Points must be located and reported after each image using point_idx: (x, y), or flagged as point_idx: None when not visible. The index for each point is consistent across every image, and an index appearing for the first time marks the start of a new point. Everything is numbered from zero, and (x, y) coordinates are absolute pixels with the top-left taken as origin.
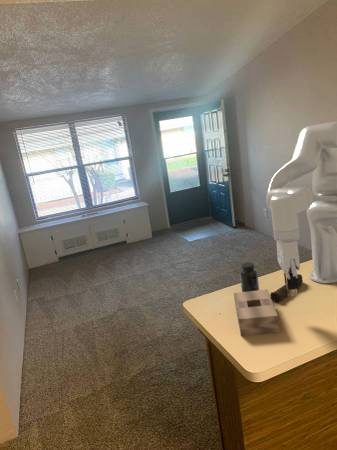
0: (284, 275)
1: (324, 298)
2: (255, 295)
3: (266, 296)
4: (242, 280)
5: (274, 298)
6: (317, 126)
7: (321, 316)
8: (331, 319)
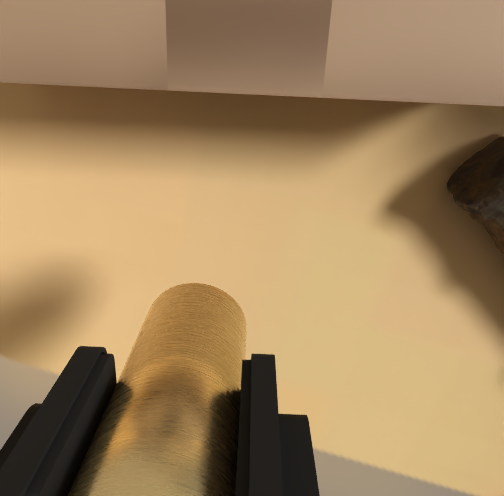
0: (251, 475)
1: (384, 434)
2: None
3: (381, 57)
4: None
5: (487, 158)
6: None
7: None
8: None
